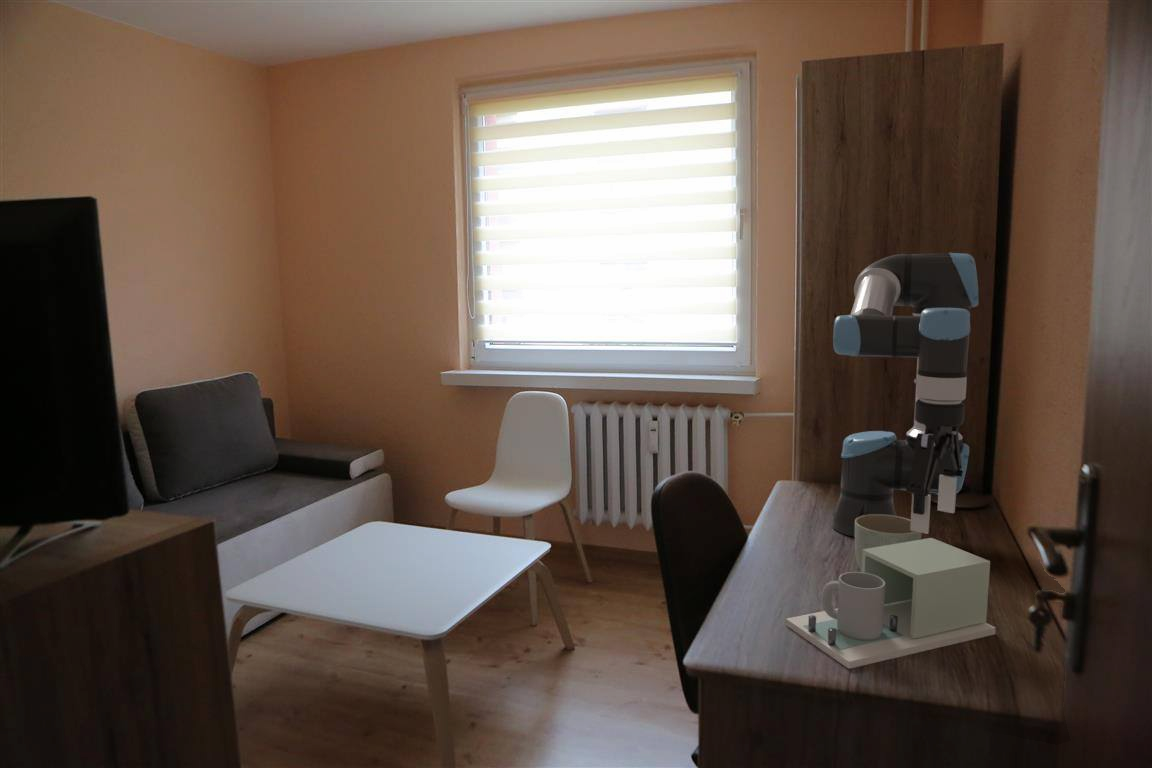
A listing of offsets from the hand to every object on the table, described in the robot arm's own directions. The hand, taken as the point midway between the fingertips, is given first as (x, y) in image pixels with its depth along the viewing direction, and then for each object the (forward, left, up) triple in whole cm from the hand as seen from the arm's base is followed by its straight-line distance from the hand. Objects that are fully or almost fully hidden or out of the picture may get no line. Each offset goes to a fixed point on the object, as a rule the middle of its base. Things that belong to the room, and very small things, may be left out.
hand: (933, 521), depth 131 cm
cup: (+17, 0, -17) cm, 24 cm away
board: (+9, 0, -18) cm, 20 cm away
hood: (+2, 0, -16) cm, 17 cm away
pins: (+17, 0, -17) cm, 24 cm away
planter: (-8, -19, -18) cm, 27 cm away
